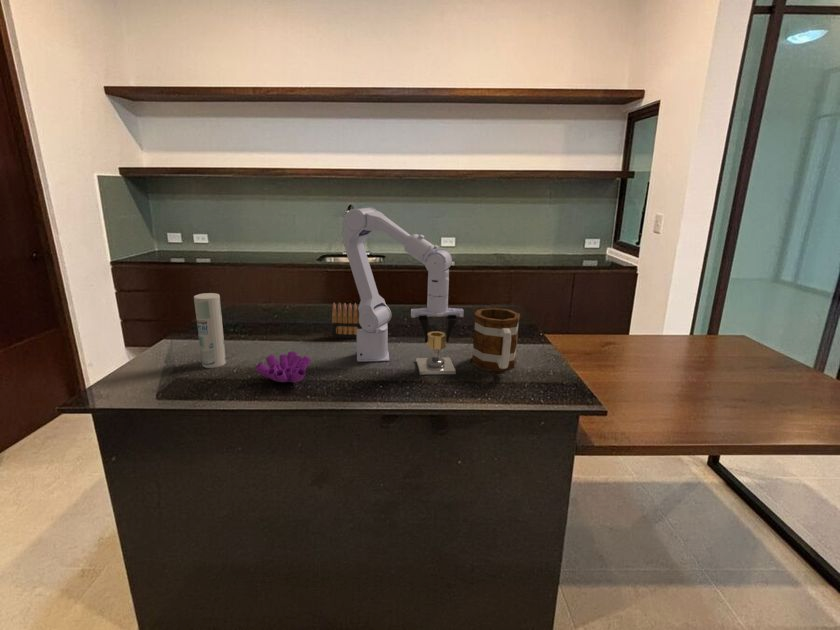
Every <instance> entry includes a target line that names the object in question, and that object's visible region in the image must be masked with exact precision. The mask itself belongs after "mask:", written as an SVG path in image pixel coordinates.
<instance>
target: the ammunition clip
mask: <svg viewBox="0 0 840 630" xmlns="http://www.w3.org/2000/svg"><path fill="white" fill-rule="evenodd" d="M341 304H342V303H341V302H338V304H337V305H336V303H335V302H333V303H332V313H331V321H332V323H331V338H336V339H337V338H342V339H344V338H345V339H346V338H347V339H348V338H349V339H350V338H351V339H357V329H362V327H361V326H360V323H359V313H358V306H357V303H356V302H354V305H353V308H352V303H351V302H349V304H348V309H347V304H346V302H344V303H343V305H341ZM336 306H337V307H336ZM342 306H343V307H342ZM347 310H348V311H347Z"/></svg>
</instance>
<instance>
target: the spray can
mask: <svg viewBox="0 0 840 630" xmlns="http://www.w3.org/2000/svg"><path fill="white" fill-rule="evenodd" d="M193 302H194V310H195V318H196V326H197V333H198V335H197V336H198V342H199V348H200V349H199V352H200V357H201V365H202V367H204V368H208V369H214V368H219V367H222V366H224V365H225V364H226V361H227V359H226V350H225V349H226V348H225V340H224V339H225V337H224V328H223V316H222V308H221V307H222V306H221V296H220V294H219V293H215V292H207V293H206V292H204V293H199V294H196V295H193Z"/></svg>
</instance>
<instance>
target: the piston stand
mask: <svg viewBox="0 0 840 630" xmlns="http://www.w3.org/2000/svg"><path fill="white" fill-rule="evenodd" d="M431 350H432V351H431V354H432V355H431V357H430V356H429V357H416V360H415V361H416V365H417V369H418V373H419V375H421V376H422V375H423V376H425V375H427V376H428V375H456V374H457V372H456V368H455V366H454V364H453V362H452V359H451V357H445V356H444V357H440V349H431Z"/></svg>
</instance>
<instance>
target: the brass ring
mask: <svg viewBox="0 0 840 630" xmlns="http://www.w3.org/2000/svg"><path fill="white" fill-rule="evenodd" d="M426 347H427V348H428V349H431V350H433V349H439V350H443V349H445V348H446V347H447V342H446V334H445V332H442V331H428V342H426Z"/></svg>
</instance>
